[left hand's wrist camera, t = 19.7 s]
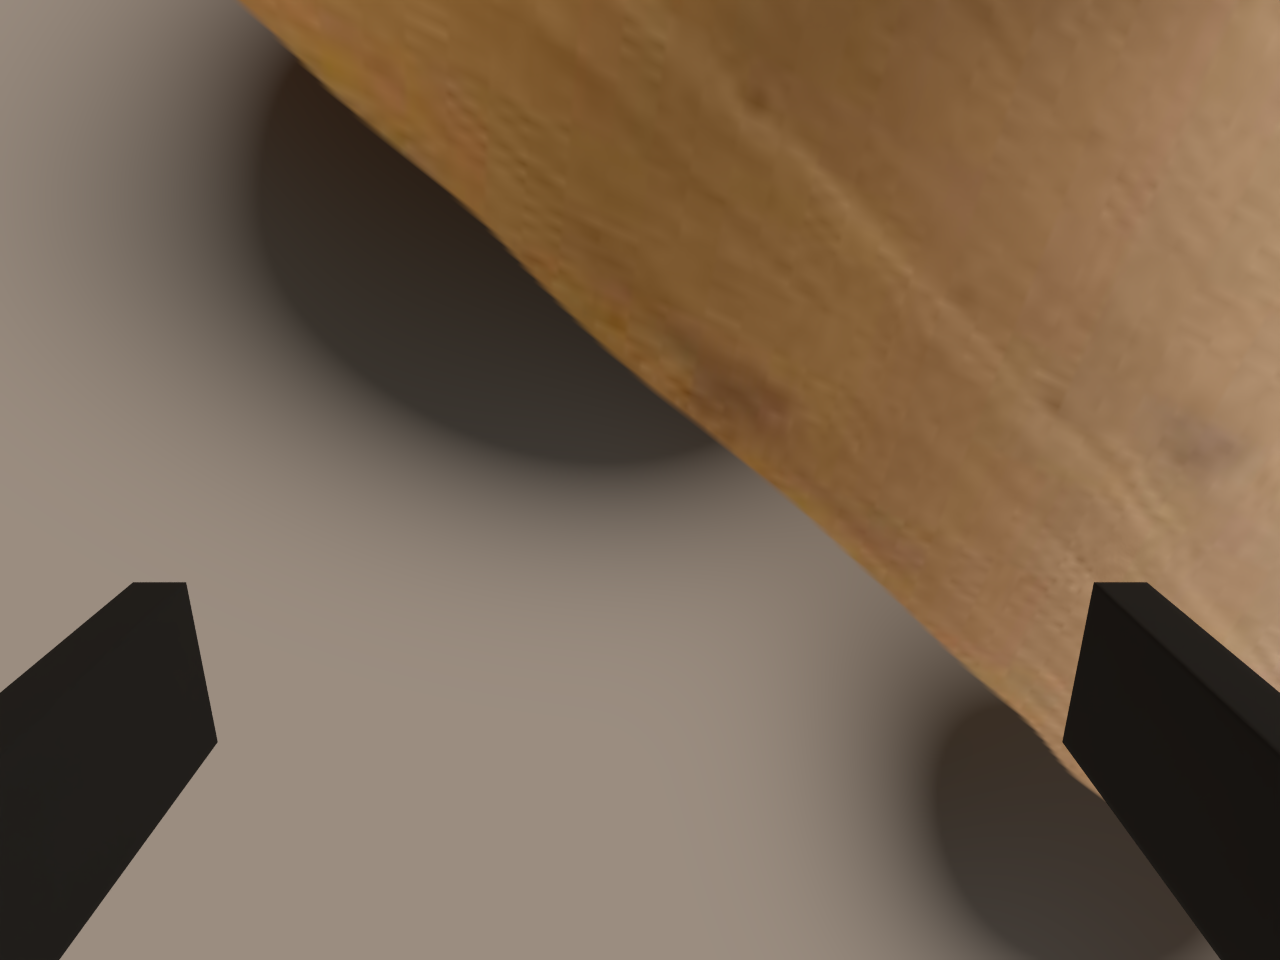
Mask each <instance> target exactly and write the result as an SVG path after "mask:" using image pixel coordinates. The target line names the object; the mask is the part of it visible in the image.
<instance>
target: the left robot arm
mask: <svg viewBox="0 0 1280 960" xmlns="http://www.w3.org/2000/svg"><path fill="white" fill-rule="evenodd" d="M216 744H217V737H216V731H215V726H214V721H213V716H212V711H211V706H210V701H209V696H208V691H207V686H206V681H205V676H204V671H203V666H202V661H201V656H200V650H199V645H198V640H197V635H196V630H195V625H194V620H193V615H192V610H191V605H190V600H189V595H188V590H187V585H186V582H133V583H132V584H131V585H129V586H128V587H127V588H126V589H125V590H123V591H122V592H121V593H120V594H119V595H117V596H116V597H115V598H114V599H113V600H111V601H110V602H109V603H108V604H107V605H105V606H104V607H103V608H102V609H101V610H99V611H98V612H97V613H96V614H95V615H93V616H92V617H91V618H90V619H89V620H87V621H86V622H85V623H84V624H82V625H81V626H80V627H79V628H78V629H76V630H75V631H74V632H73V633H72V634H70V635H69V636H68V637H67V638H66V639H64V640H63V641H62V642H61V643H60V644H58V645H57V646H56V647H55V648H54V649H52V650H51V651H50V652H49V653H48V654H46V655H45V656H44V657H43V658H42V659H40V660H39V661H38V662H37V663H35V664H34V665H33V666H32V667H31V668H29V669H28V670H27V671H26V672H25V673H23V674H22V675H21V676H20V677H19V678H17V679H16V680H15V681H14V682H13V683H11V684H10V685H9V686H8V687H7V688H5V689H4V690H3V691H2V692H1V693H0V960H59V959H60V958H61V957H62V955H63V954H64V952H65V951H66V950H67V948H68V947H69V946H70V944H71V943H72V941H73V940H74V939H75V937H76V936H77V935H78V933H79V932H80V931H81V929H82V928H83V926H84V925H85V924H86V922H87V921H88V920H89V918H90V917H91V915H92V914H93V913H94V911H95V910H96V909H97V907H98V906H99V904H100V903H101V902H102V900H103V899H104V897H105V896H106V895H107V893H108V892H109V891H110V889H111V888H112V886H113V885H114V884H115V882H116V881H117V880H118V878H119V877H120V876H121V874H122V873H123V871H124V870H125V869H126V867H127V866H128V864H129V863H130V862H131V860H132V859H133V858H134V856H135V855H136V853H137V852H138V851H139V849H140V848H141V847H142V845H143V844H144V842H145V841H146V840H147V838H148V837H149V836H150V834H151V833H152V832H153V830H154V829H155V827H156V826H157V825H158V823H159V822H160V820H161V819H162V818H163V816H164V815H165V814H166V812H167V811H168V809H169V808H170V807H171V805H172V804H173V803H174V801H175V800H176V798H177V797H178V796H179V794H180V793H181V792H182V790H183V789H184V788H185V786H186V785H187V783H188V782H189V781H190V779H191V778H192V777H193V775H194V774H195V772H196V771H197V770H198V768H199V767H200V766H201V764H202V763H203V761H204V760H205V759H206V757H207V756H208V755H209V753H210V752H211V750H212V749H213V748H214V746H215V745H216ZM1063 744H1064V745H1065V746H1066V748H1067V749H1068V750H1069V752H1070V753H1071V755H1072V756H1073V757H1074V759H1075V760H1076V761H1077V763H1078V764H1079V766H1080V767H1081V768H1082V770H1083V771H1084V772H1085V774H1086V775H1087V777H1088V778H1089V779H1090V781H1091V782H1092V783H1093V785H1094V786H1095V788H1096V789H1097V790H1098V792H1099V793H1100V794H1101V796H1102V797H1103V799H1104V800H1105V801H1106V803H1107V804H1108V805H1109V807H1110V808H1111V810H1112V811H1113V812H1114V814H1115V815H1116V816H1117V818H1118V819H1119V821H1120V822H1121V823H1122V825H1123V826H1124V827H1125V829H1126V830H1127V832H1128V833H1129V834H1130V836H1131V837H1132V838H1133V840H1134V841H1135V842H1136V844H1137V845H1138V847H1139V848H1140V849H1141V851H1142V852H1143V854H1144V855H1145V856H1146V858H1147V859H1148V860H1149V862H1150V863H1151V865H1152V866H1153V867H1154V869H1155V870H1156V871H1157V873H1158V874H1159V876H1160V877H1161V878H1162V880H1163V881H1164V882H1165V884H1166V885H1167V886H1168V888H1169V889H1170V891H1171V892H1172V893H1173V895H1174V896H1175V897H1176V899H1177V900H1178V902H1179V903H1180V904H1181V906H1182V907H1183V909H1184V910H1185V911H1186V913H1187V914H1188V915H1189V917H1190V918H1191V919H1192V921H1193V922H1194V924H1195V925H1196V926H1197V928H1198V929H1199V930H1200V932H1201V933H1202V934H1203V936H1204V937H1205V939H1206V940H1207V941H1208V943H1209V944H1210V946H1211V947H1212V948H1213V950H1214V951H1215V952H1216V954H1217V955H1218V957H1219V958H1220V959H1221V960H1280V693H1279V692H1278V691H1277V690H1276V689H1275V688H1273V687H1272V686H1271V685H1270V684H1269V683H1267V682H1266V681H1265V680H1264V679H1263V678H1261V677H1260V676H1259V675H1258V674H1257V673H1255V672H1254V671H1253V670H1252V669H1251V668H1249V667H1248V666H1247V665H1246V664H1245V663H1243V662H1242V661H1241V660H1240V659H1238V658H1237V657H1236V656H1235V655H1234V654H1232V653H1231V652H1230V651H1229V650H1228V649H1226V648H1225V647H1224V646H1223V645H1222V644H1220V643H1219V642H1218V641H1217V640H1216V639H1214V638H1213V637H1212V636H1211V635H1210V634H1208V633H1207V632H1206V631H1205V630H1204V629H1202V628H1201V627H1200V626H1199V625H1198V624H1196V623H1195V622H1194V621H1193V620H1192V619H1190V618H1189V617H1188V616H1187V615H1186V614H1184V613H1183V612H1182V611H1181V610H1179V609H1178V608H1177V607H1176V606H1175V605H1173V604H1172V603H1171V602H1170V601H1169V600H1167V599H1166V598H1165V597H1164V596H1163V595H1161V594H1160V593H1159V592H1158V591H1157V590H1155V589H1154V588H1153V587H1152V586H1151V585H1149V584H1148V583H1147V582H1094V585H1093V590H1092V595H1091V600H1090V605H1089V610H1088V615H1087V620H1086V625H1085V630H1084V635H1083V640H1082V645H1081V650H1080V656H1079V661H1078V666H1077V671H1076V676H1075V681H1074V686H1073V691H1072V696H1071V701H1070V706H1069V711H1068V716H1067V721H1066V726H1065V731H1064V737H1063Z"/></svg>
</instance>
